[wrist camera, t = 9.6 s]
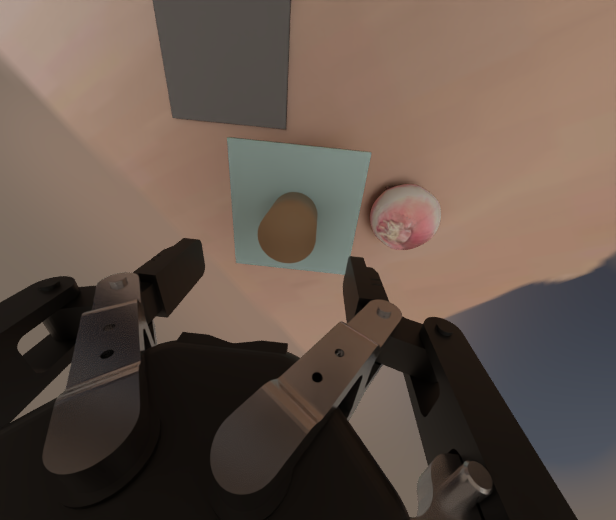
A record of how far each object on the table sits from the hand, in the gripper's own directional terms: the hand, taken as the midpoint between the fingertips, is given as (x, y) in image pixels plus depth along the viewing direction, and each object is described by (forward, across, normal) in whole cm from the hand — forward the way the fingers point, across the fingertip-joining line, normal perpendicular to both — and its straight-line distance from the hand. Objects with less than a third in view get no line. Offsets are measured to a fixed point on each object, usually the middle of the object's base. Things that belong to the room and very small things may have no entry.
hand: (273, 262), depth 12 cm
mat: (+20, +9, -13) cm, 25 cm away
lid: (+10, 0, 0) cm, 10 cm away
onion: (+20, -13, +2) cm, 24 cm away
